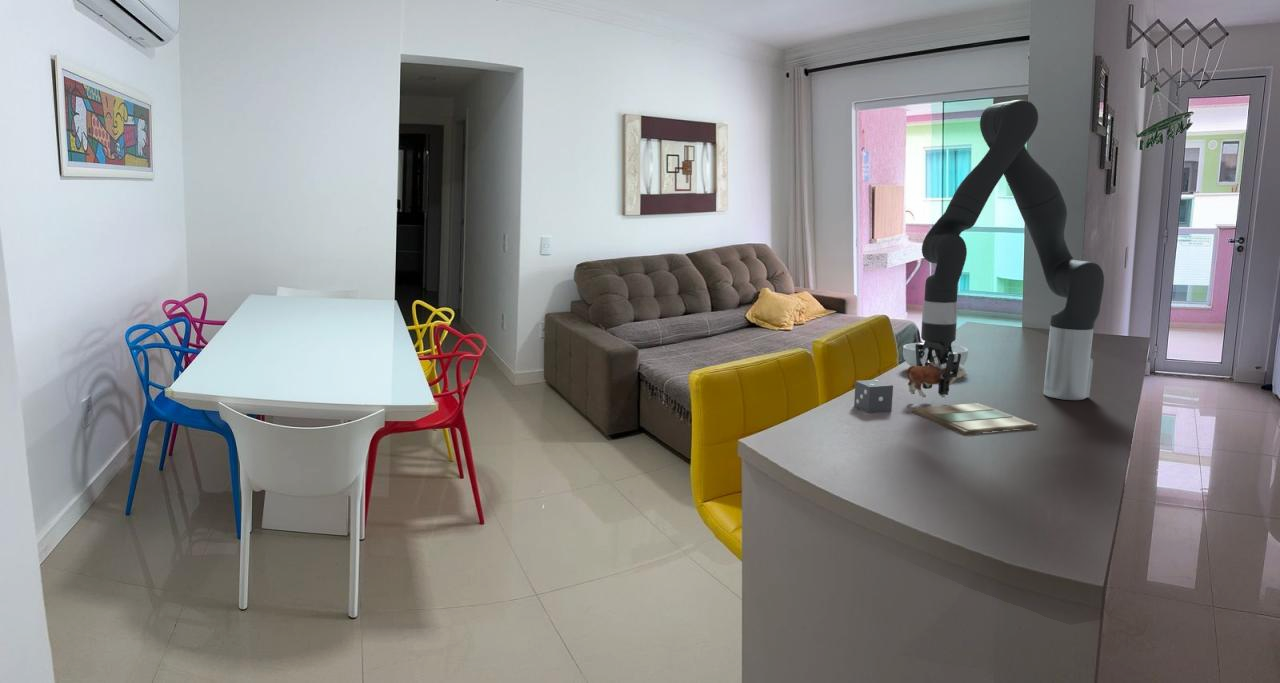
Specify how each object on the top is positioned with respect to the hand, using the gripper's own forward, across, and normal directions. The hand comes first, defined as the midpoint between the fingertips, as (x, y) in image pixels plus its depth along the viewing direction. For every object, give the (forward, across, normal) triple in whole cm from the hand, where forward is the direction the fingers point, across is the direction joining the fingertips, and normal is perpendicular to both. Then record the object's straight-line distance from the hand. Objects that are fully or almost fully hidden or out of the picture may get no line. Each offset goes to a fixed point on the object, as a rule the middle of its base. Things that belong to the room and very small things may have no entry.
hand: (934, 390), depth 182 cm
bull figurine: (+1, 0, 0) cm, 1 cm away
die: (+3, 0, +16) cm, 17 cm away
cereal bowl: (+4, +30, -22) cm, 37 cm away
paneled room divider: (+3, -14, 0) cm, 14 cm away
